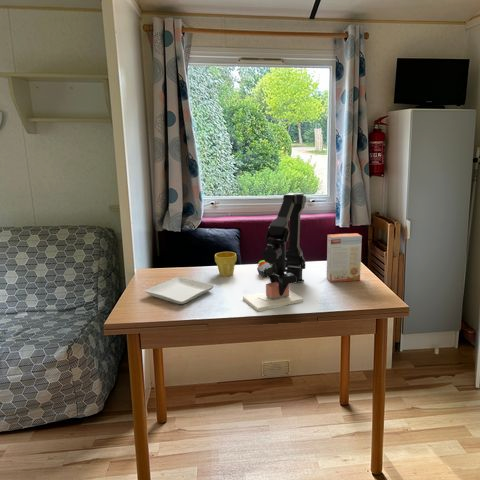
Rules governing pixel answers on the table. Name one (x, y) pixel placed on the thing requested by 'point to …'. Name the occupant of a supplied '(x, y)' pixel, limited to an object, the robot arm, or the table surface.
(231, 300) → the table surface
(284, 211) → the robot arm
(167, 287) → the salad plate
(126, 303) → the table surface
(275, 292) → the block
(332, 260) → the cracker box
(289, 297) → the board
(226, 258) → the plant pot
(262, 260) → the clementine
